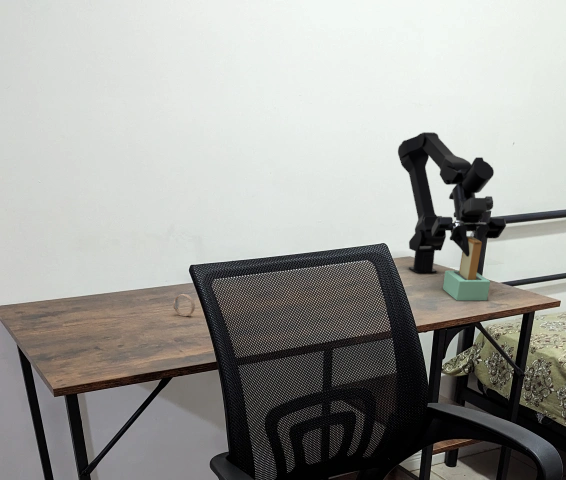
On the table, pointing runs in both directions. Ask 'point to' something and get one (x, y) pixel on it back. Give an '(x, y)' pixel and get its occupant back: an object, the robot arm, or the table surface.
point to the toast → (470, 259)
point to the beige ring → (176, 305)
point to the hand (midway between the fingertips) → (472, 255)
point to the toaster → (466, 286)
